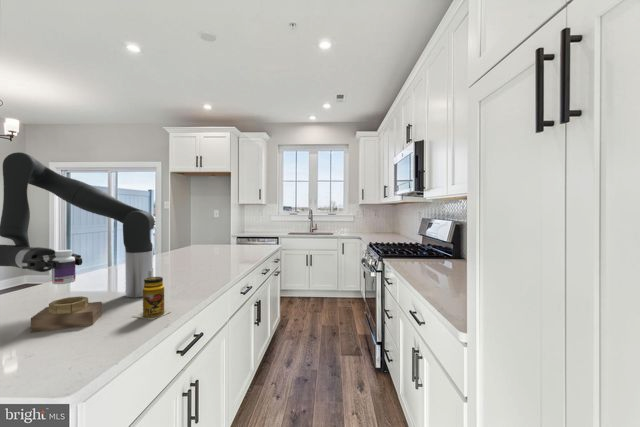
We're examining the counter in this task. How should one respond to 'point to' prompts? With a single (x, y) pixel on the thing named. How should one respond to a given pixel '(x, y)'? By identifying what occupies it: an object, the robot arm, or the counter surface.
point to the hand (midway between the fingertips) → (69, 263)
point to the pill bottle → (64, 267)
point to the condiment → (153, 299)
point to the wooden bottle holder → (66, 314)
